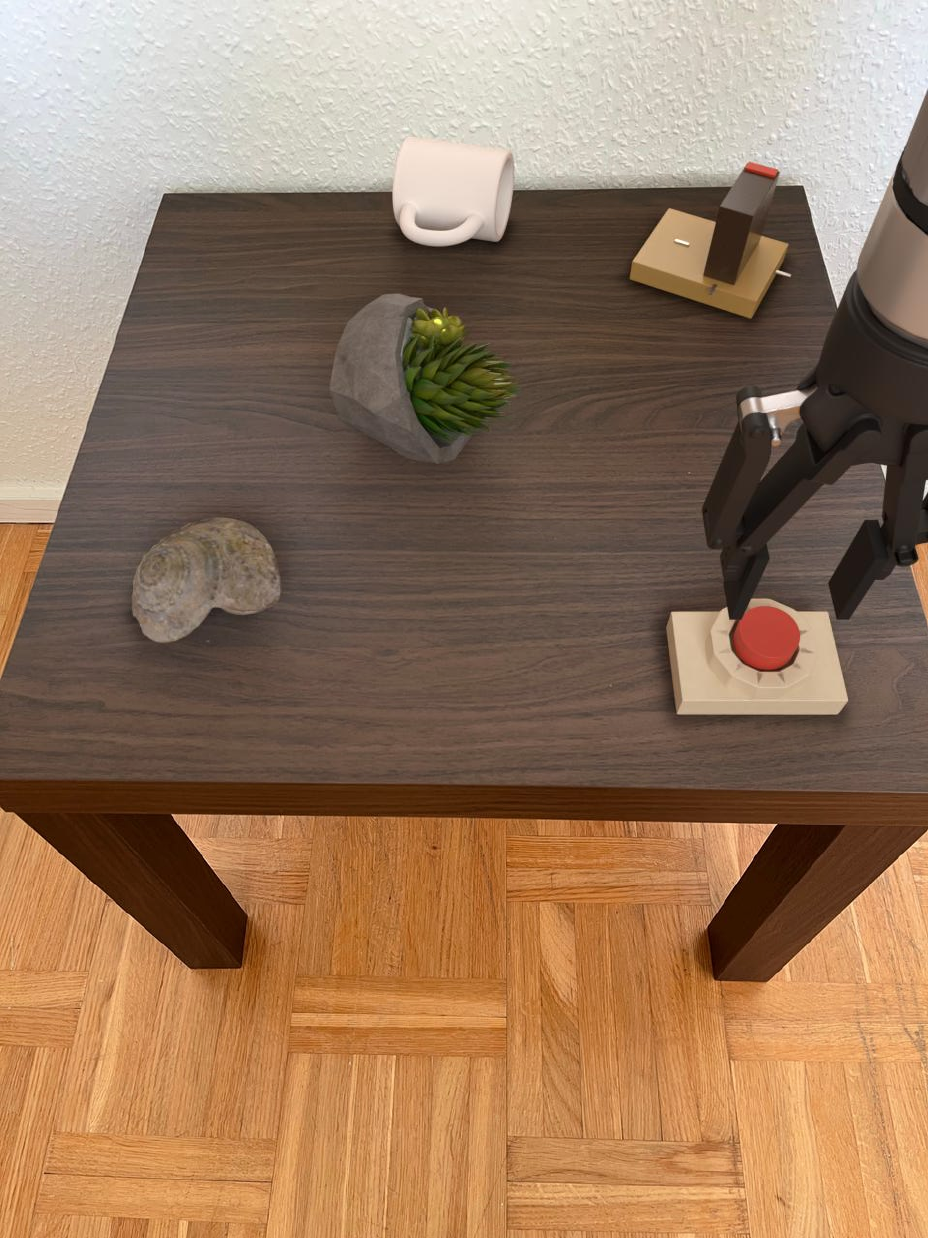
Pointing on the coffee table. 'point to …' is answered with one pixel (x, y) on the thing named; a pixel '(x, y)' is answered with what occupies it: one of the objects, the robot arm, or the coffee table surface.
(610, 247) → the coffee table surface
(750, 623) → the bell button
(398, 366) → the potted plant
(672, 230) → the plate
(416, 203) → the mug
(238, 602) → the fossilized seashell
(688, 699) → the beige button housing
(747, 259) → the lock turn
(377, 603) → the coffee table surface
